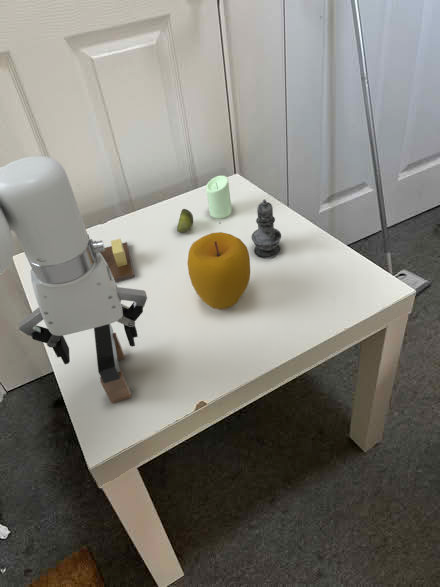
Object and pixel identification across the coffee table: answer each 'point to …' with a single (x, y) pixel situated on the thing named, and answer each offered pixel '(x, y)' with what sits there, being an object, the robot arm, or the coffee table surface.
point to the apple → (219, 269)
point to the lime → (185, 221)
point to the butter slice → (119, 252)
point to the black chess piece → (266, 233)
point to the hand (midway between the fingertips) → (99, 348)
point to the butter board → (116, 271)
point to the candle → (219, 197)
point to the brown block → (117, 387)
